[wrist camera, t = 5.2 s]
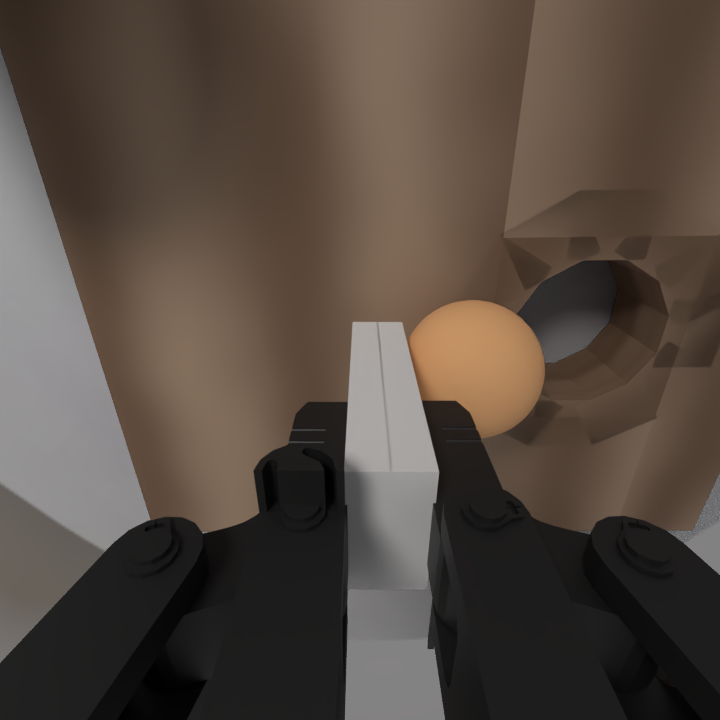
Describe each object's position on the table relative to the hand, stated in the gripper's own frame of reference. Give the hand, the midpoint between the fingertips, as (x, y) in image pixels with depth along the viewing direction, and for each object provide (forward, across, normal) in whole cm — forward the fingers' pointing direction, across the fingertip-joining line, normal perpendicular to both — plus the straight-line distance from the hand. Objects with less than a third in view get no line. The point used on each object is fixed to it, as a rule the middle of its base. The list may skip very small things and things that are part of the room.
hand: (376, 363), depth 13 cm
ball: (-1, +3, 0) cm, 3 cm away
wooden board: (+4, +2, 0) cm, 5 cm away
